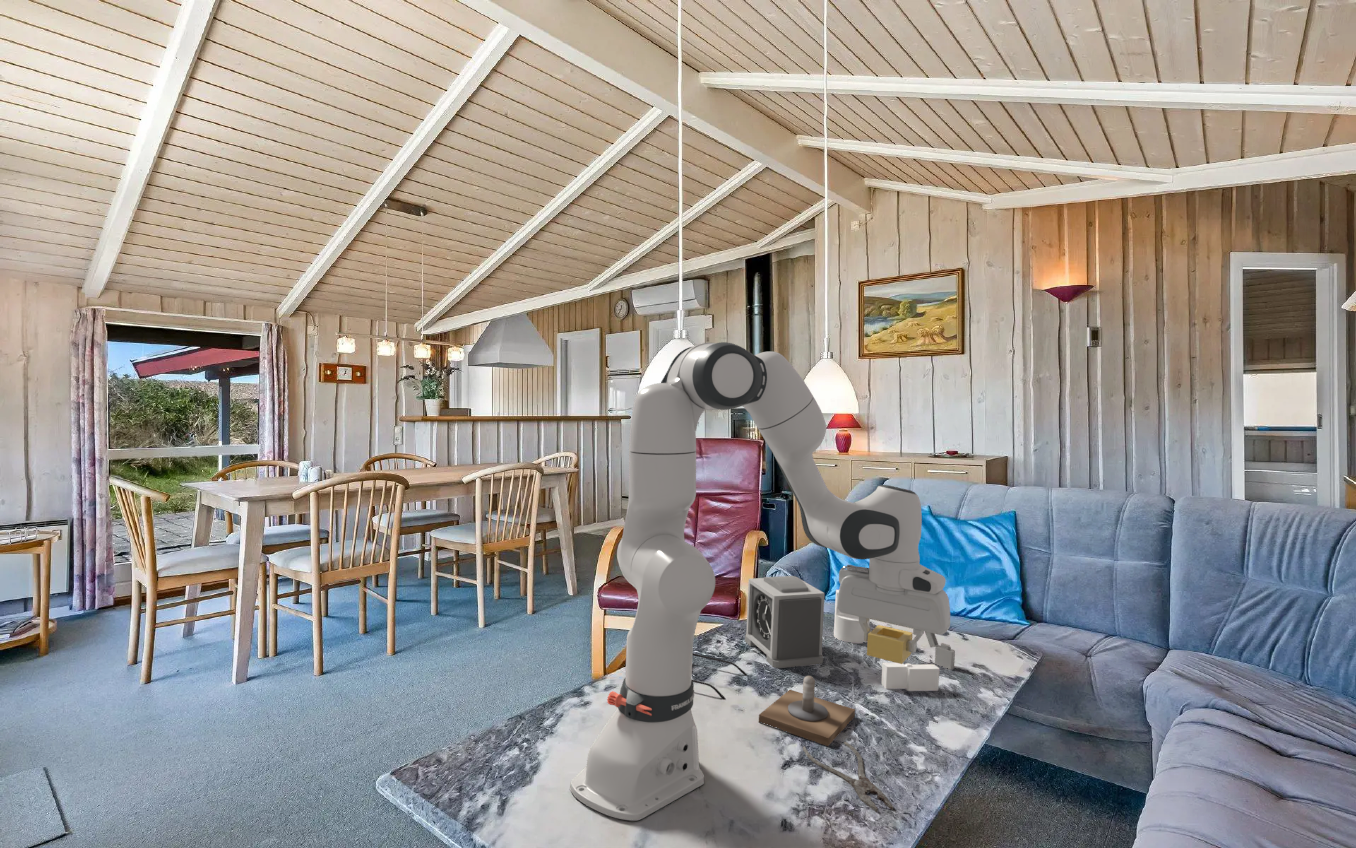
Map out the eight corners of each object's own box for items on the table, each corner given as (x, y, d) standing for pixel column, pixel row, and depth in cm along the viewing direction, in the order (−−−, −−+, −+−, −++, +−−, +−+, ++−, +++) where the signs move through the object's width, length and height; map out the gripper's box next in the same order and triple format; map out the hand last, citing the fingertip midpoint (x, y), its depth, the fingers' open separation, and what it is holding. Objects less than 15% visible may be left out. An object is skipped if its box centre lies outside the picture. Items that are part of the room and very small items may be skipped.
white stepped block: (947, 688, 146) (949, 663, 146) (937, 708, 136) (939, 680, 136) (879, 671, 154) (880, 647, 153) (865, 688, 144) (866, 663, 144)
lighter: (954, 668, 156) (956, 635, 156) (951, 670, 155) (952, 636, 155) (926, 658, 161) (927, 626, 161) (922, 660, 160) (924, 628, 160)
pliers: (840, 736, 121) (924, 796, 103) (839, 740, 121) (924, 801, 103) (797, 747, 117) (878, 811, 99) (797, 751, 117) (878, 817, 99)
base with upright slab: (834, 641, 171) (837, 596, 170) (832, 629, 179) (834, 586, 179) (870, 645, 169) (873, 599, 169) (866, 633, 178) (868, 589, 178)
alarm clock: (743, 640, 169) (746, 569, 169) (789, 636, 173) (792, 567, 173) (774, 669, 152) (778, 590, 151) (825, 664, 156) (828, 587, 155)
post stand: (828, 746, 118) (830, 699, 118) (758, 722, 126) (760, 678, 126) (854, 716, 130) (856, 674, 129) (789, 696, 138) (791, 656, 137)
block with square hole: (901, 664, 118) (903, 642, 118) (866, 655, 122) (867, 634, 122) (911, 653, 124) (912, 632, 123) (877, 645, 127) (878, 624, 127)
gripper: (833, 566, 125) (830, 637, 126) (946, 586, 114) (942, 665, 114) (845, 560, 131) (842, 628, 131) (954, 579, 119) (950, 654, 120)
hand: (889, 646), depth 123 cm, fingers closed on block with square hole, 6 cm apart
